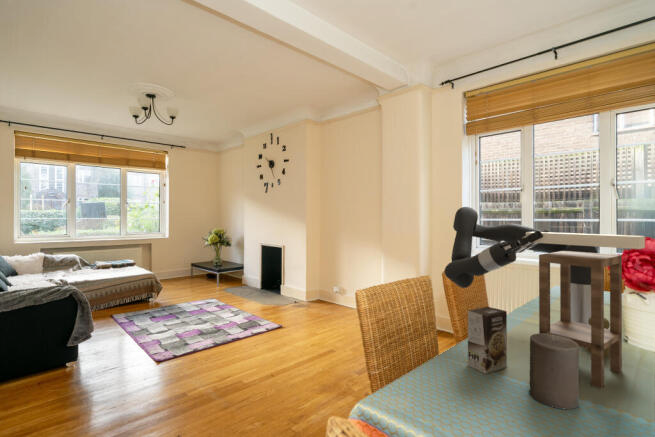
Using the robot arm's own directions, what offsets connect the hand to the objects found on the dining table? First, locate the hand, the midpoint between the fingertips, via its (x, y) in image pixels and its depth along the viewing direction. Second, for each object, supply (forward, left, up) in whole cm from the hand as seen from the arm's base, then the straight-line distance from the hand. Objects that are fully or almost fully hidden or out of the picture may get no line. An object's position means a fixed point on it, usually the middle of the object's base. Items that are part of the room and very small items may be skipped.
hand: (545, 233), depth 99 cm
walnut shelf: (0, +9, -38) cm, 39 cm away
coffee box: (+19, -7, -38) cm, 43 cm away
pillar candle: (+22, +11, -38) cm, 45 cm away
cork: (-18, +8, -38) cm, 43 cm away
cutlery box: (0, +9, -3) cm, 9 cm away
